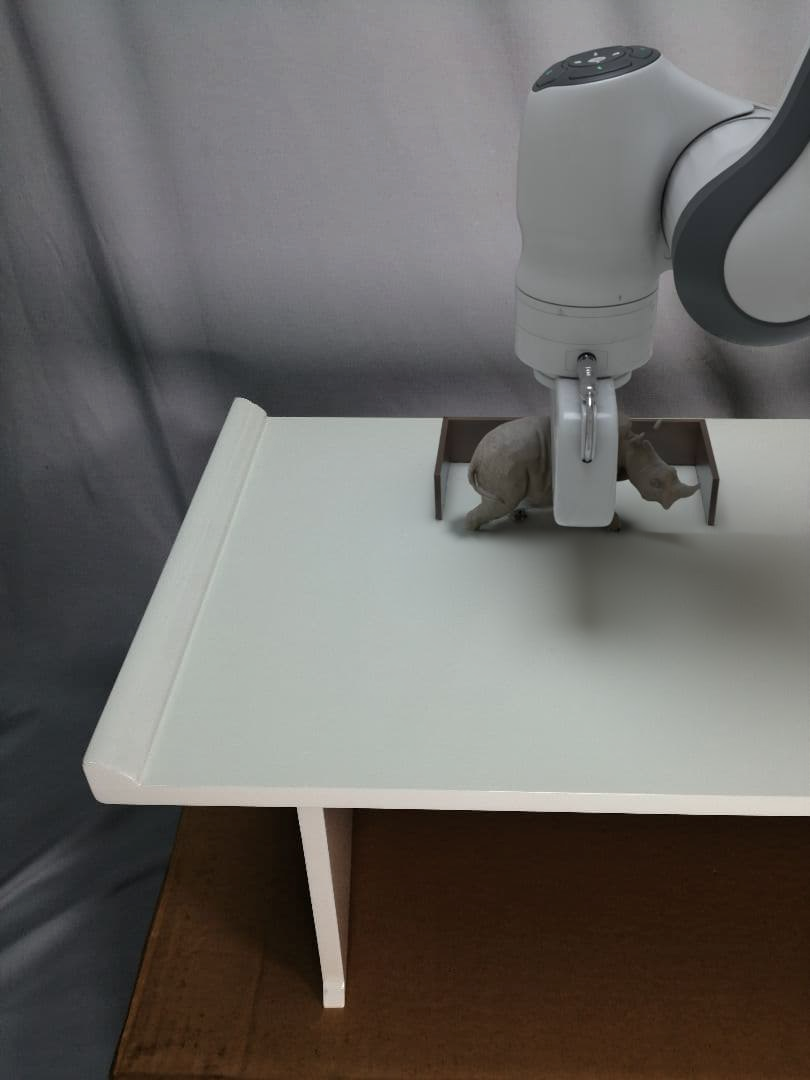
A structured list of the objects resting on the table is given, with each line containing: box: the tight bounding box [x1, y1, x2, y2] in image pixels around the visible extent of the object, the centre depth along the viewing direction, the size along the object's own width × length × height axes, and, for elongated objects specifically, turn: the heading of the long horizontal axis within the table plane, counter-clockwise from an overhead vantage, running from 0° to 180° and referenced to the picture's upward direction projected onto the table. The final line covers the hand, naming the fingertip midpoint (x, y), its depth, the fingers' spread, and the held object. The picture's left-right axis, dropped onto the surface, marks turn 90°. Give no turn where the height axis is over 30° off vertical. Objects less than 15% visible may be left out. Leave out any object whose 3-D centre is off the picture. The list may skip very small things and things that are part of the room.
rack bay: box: [433, 416, 720, 525], centre depth 92 cm, size 21×10×4 cm, turn 84°
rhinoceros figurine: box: [461, 412, 701, 533], centre depth 86 cm, size 8×14×15 cm
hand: (575, 511), depth 82 cm, fingers closed
